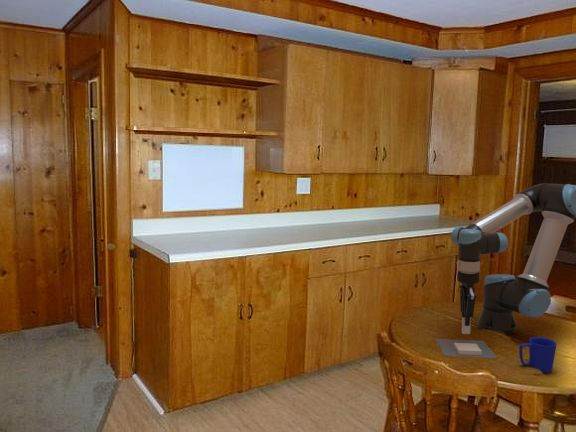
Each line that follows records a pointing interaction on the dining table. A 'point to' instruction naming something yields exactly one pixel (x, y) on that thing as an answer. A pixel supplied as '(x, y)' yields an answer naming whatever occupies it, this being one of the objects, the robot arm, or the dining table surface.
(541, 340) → the mug
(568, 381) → the dining table surface
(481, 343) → the board
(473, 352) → the tile
